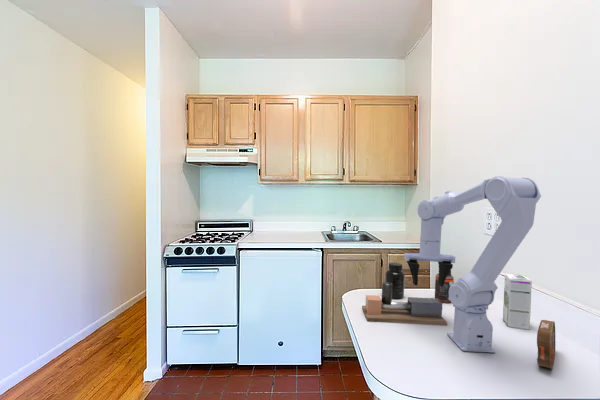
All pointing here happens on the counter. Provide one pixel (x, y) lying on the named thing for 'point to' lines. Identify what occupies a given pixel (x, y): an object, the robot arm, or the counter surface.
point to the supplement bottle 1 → (396, 280)
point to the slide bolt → (387, 299)
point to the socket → (373, 304)
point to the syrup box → (517, 301)
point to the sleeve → (425, 307)
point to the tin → (546, 344)
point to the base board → (402, 317)
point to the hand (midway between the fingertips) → (427, 285)
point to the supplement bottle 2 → (443, 288)
